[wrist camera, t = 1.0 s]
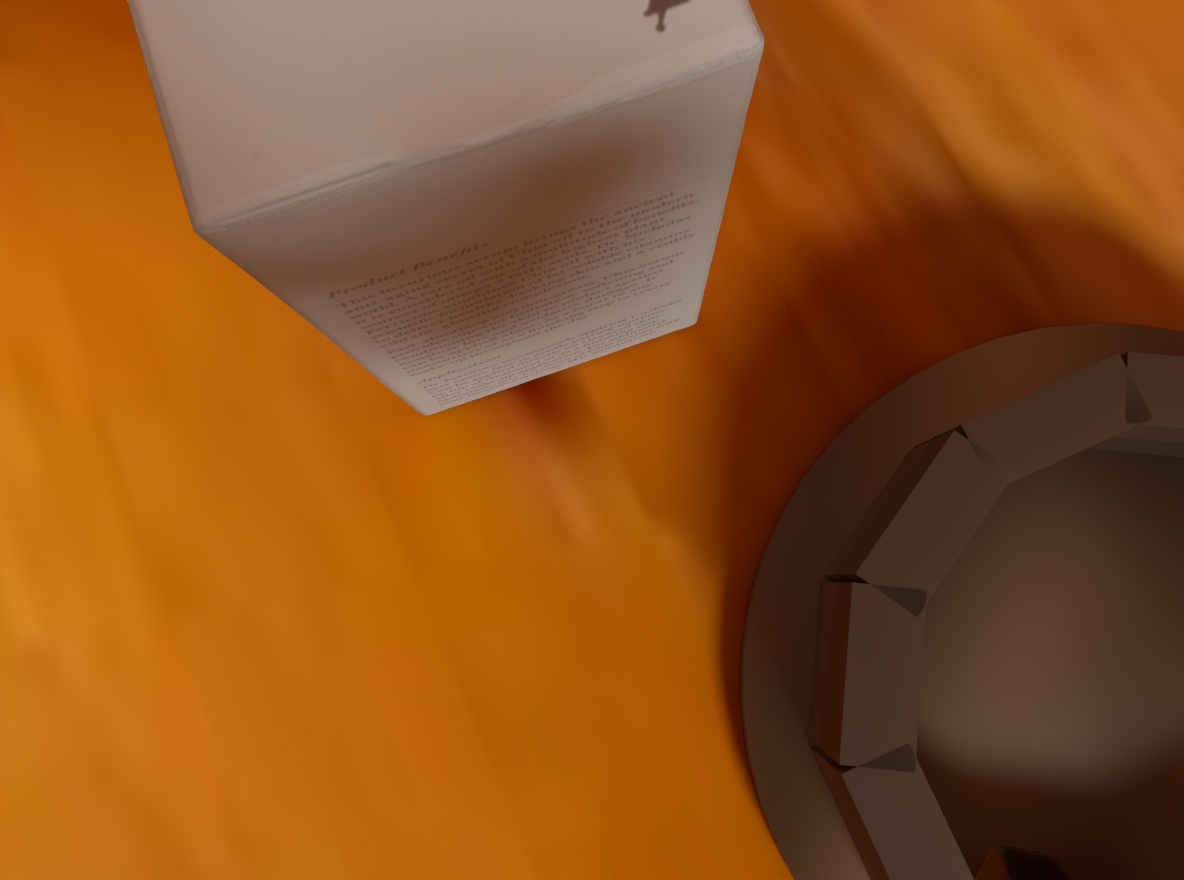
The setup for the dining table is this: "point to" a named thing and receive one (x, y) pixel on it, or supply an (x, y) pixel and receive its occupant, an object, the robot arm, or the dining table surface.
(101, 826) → the dining table surface
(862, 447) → the stone fire pit
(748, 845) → the dining table surface
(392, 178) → the skincare box
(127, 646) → the dining table surface
